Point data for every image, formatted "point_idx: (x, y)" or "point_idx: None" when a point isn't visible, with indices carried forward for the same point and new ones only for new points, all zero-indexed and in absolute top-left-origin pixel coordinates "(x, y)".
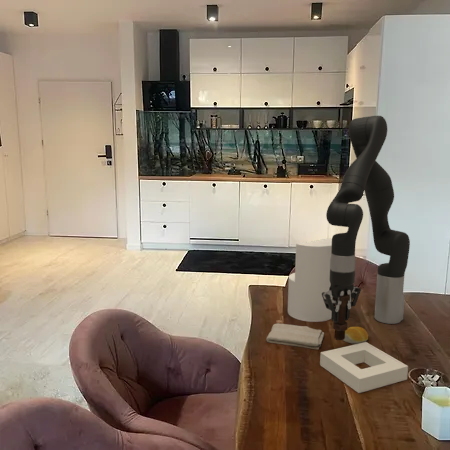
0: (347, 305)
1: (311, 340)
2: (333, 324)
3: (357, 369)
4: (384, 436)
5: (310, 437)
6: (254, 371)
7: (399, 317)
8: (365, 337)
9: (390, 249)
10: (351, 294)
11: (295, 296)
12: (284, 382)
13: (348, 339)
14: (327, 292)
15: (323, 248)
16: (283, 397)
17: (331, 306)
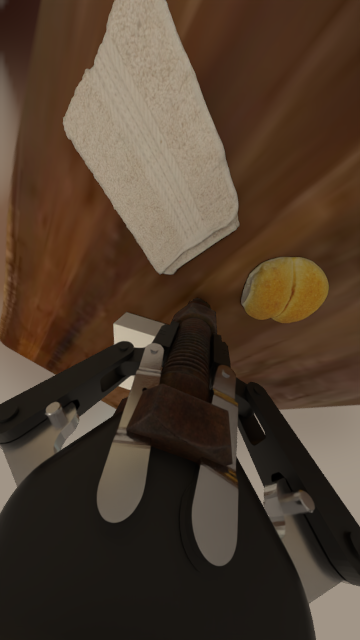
0: None
1: (156, 253)
2: (173, 320)
3: (129, 377)
4: (104, 397)
5: (53, 368)
6: (20, 255)
7: None
8: (277, 321)
9: None
10: (278, 457)
11: None
12: (57, 308)
13: (243, 299)
14: (10, 460)
15: None
16: (47, 326)
17: (110, 381)
